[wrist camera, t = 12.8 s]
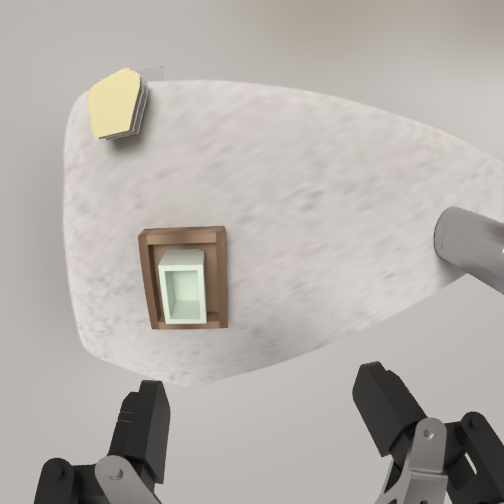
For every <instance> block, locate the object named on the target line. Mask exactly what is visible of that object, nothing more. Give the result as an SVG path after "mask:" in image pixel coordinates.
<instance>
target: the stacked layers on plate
mask: <svg viewBox="0 0 504 504" xmlns="http://www.w3.org/2000/svg"><path fill="white" fill-rule="evenodd" d="M158 81H164V79H163V66H158V67H153V68H149V69H143V70H139V71H132V70H130V69H128V68H124V69H122V70H120V71H118V72H116V73H114V74H113V75H111V76H109V77H107V78H105V79H103V80H100V81H97V82H95V85H94V86H93V87H92V88H91V89H90V91H89V93H88V97H87V102H88V108H89V114H90V119H91V125H92V130H93V135H94V138H99V139H104V138H106V140H111V139H115V138H119V137H124V136H129V135H133V134H138V133H139V128H140V124H141V119H142V115H143V111H144V107H145V103H146V99H147V95H148V84H147V82H158Z"/></svg>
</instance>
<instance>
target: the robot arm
mask: <svg viewBox="0 0 504 504" xmlns="http://www.w3.org/2000/svg"><path fill="white" fill-rule="evenodd" d="M434 245H435V249H436V252H437V254H438V255H439V256H440V257H441V258H443V259H444V260H446V261H448V262H450V263H452V264H453V265H455V266H457V267H458V268H460V269H462V270H464V271H465V272H467V273H469V274H471V275H473V276H474V277H476V278H477V279H479V280H481V281H482V282H484V283H486V284H487V285H489V286H491V287H492V288H494V289H495V290H497V291H499V292H500V293H502V294H504V223H501V222H499V221H496V220H493V219H491V218H488V217H485V216H482V215H479V214H476V213H474V212H471V211H468V210H465V209H462V208H458V207H450V208H449V209H447V210H446V211H445V212H444V213H443V214H442V216H441V217H440V219H439V221H438V224H437V226H436V230H435V237H434ZM352 394H353V400H354V402H355V404H356V406H357V408H358V410H359V412H360V414H361V416H362V418H363V420H364V422H365V424H366V426H367V428H368V430H369V432H370V434H371V436H372V438H373V440H374V442H375V444H376V446H377V448H378V450H379V453H380V455H381V457H384V456H387V455H389V454H391V455H392V457H393V459H392V460H391V463H390V466H389V470H388V473H387V476H386V479H385V482H384V485H383V488H382V491H381V493H380V495H379V497H378V499H377V501H376V502H375V504H443V503H444V498H445V493H446V490H447V492H448V495H449V497H450V499H451V501H452V504H504V445H503V444H502V442H501V441H500V439H499V438H498V436H497V435H496V433H495V432H494V430H493V429H492V427H491V426H490V424H489V423H488V422H487V420H486V419H485V417H484V416H483V415H482V414H480V413H478V412H469V413H466V414H465V415H464V417H463V418H462V419H461V421H458V422H452V423H445V424H443V422H441V421H440V420H438V419H435V418H428V417H427V416H426V414H425V413H424V412H423V410H422V409H421V407H420V406H419V405H418V403H417V401H416V400H415V398H414V397H413V396H412V394H411V393H409V390H408V388H407V387H406V386H405V384H404V383H403V381H402V380H401V379H400V377H399V376H397V375H396V374H395V373H393V372H392V371H390V370H388V371H386V370H385V369H384V367H383V366H382V365H381V363H380V362H378V361H376V362H371V363H367V364H362V365H361V366H360V368H359V371H358V375H357V377H356V381H355V384H354V387H353V392H352ZM169 424H170V406H169V402H168V399H167V396H166V393H165V389H164V386H163V383H162V381H152V380H143V381H142V382H141V385H140V389H139V392H130V393H129V394H128V396H127V397H126V398H125V399H124V400H123V403H122V406H121V409H120V413H119V416H118V422H117V423H116V427H115V430H114V434H113V437H112V441H111V445H110V449H109V452H108V454H107V456H106V457H104V458H102V459H100V460H99V461H98V463H96V464H92V465H76V466H72V465H70V463H69V462H67V461H66V460H64V459H61V458H53V459H50V460H48V461H47V462H46V463H45V464H44V466H43V468H42V472H41V475H40V479H39V483H38V487H37V491H36V495H35V500H34V504H162V502H161V501H160V500H159V499H158V497H157V496H156V495H155V493H154V486H155V483H159V484H163V481H164V469H165V458H166V449H167V440H168V431H169ZM466 453H467V454H468V455H469V457H470V459H471V461H472V462H473V464H474V466H475V468H476V471H477V473H476V475H475V473H474V471H473V469H472V467H471V466H470V464H469V462H468V460H467V458H466V457H465V454H466Z"/></svg>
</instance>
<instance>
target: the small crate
mask: <svg viewBox="0 0 504 504" xmlns="http://www.w3.org/2000/svg"><path fill="white" fill-rule="evenodd" d="M158 269H159V277H160V286H161V294H162V301H163V308H164V315H165V321H166V324H202V323H206V321H207V294H206V275H205V252H204V249H189V250H166V251H165V253H164V255H163V257H162V259H161V261H160V263H159V265H158Z"/></svg>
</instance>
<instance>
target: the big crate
mask: <svg viewBox="0 0 504 504" xmlns="http://www.w3.org/2000/svg"><path fill="white" fill-rule="evenodd" d="M138 242H139V251H140V259H141V267H142V274H143V281H144V288H145V294H146V300H147V306H148V311H149V317H150V322H151V327H152V329H212V328H228V320H227V289H226V246H225V228H224V226H211V227H181V228H156V229H144V230H143V231H142V232H141V233H140V235H139V236H138ZM189 249H204V252H205V275H206V294H207V321H206V323H202V324H166V321H165V315H164V308H163V301H162V294H161V286H160V277H159V269H158V265H159V263H160V261H161V259H162V257H163V255H164V253H165V251H166V250H189Z"/></svg>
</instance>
